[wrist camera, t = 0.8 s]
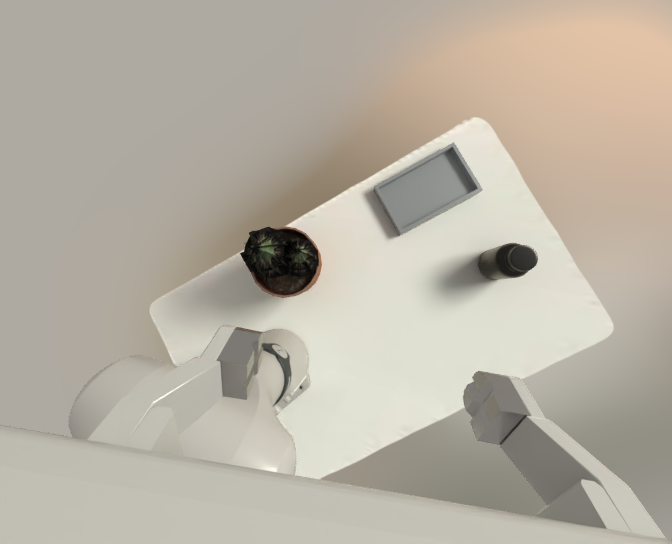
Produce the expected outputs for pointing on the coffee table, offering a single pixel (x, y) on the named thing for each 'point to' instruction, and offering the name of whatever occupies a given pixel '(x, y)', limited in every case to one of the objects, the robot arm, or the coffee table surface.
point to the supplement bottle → (507, 261)
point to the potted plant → (282, 260)
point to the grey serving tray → (427, 189)
